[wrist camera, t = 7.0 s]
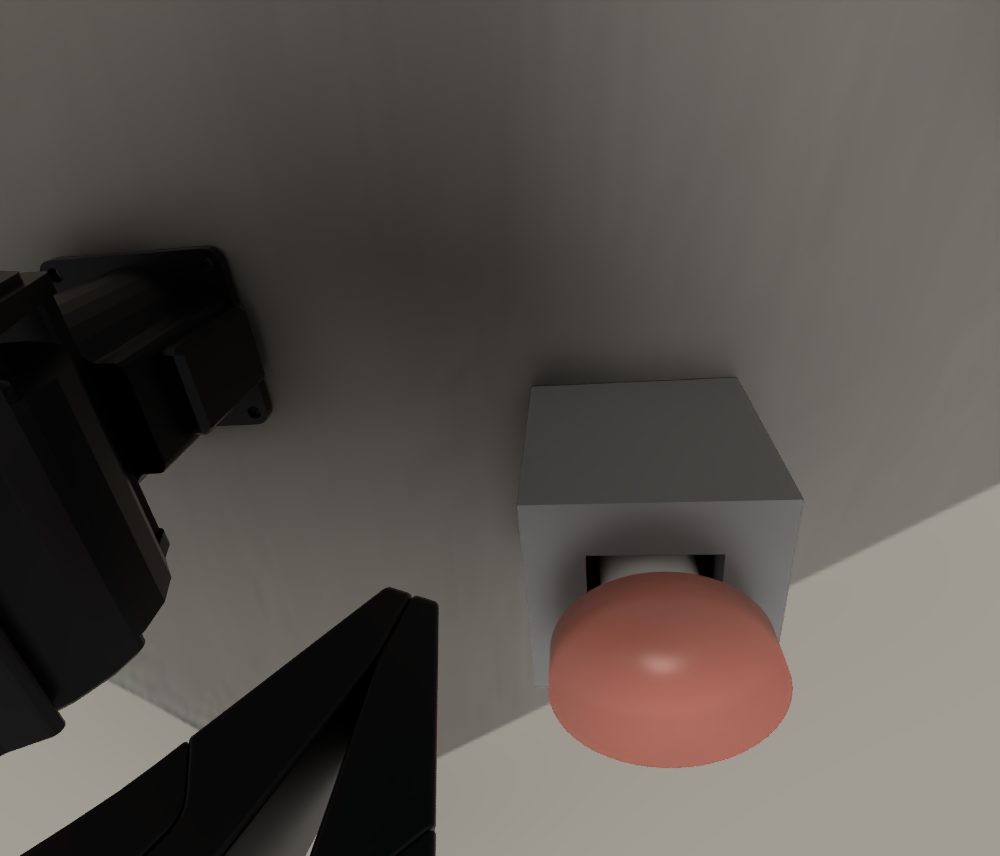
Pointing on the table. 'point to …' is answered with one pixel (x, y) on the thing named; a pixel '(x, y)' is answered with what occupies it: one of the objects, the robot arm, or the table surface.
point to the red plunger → (666, 665)
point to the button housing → (650, 493)
